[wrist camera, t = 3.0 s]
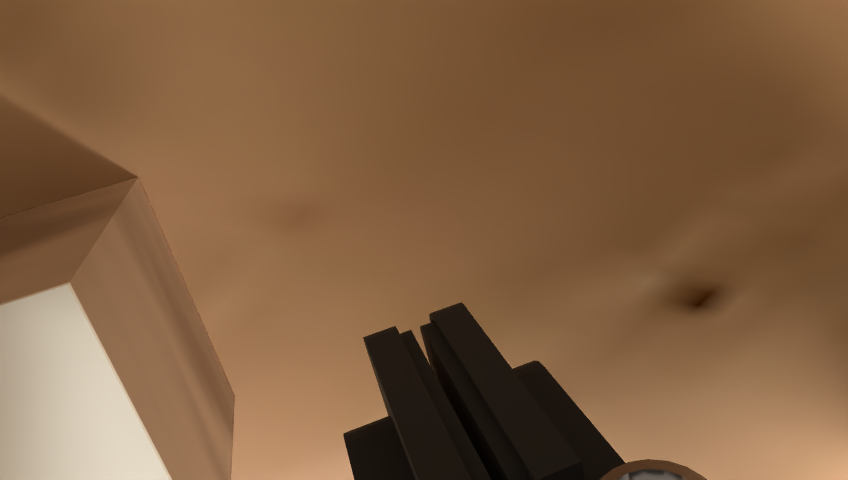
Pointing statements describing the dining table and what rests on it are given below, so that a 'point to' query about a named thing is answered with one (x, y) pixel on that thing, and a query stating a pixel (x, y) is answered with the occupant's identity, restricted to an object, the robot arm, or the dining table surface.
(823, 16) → the dining table surface
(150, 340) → the cube
